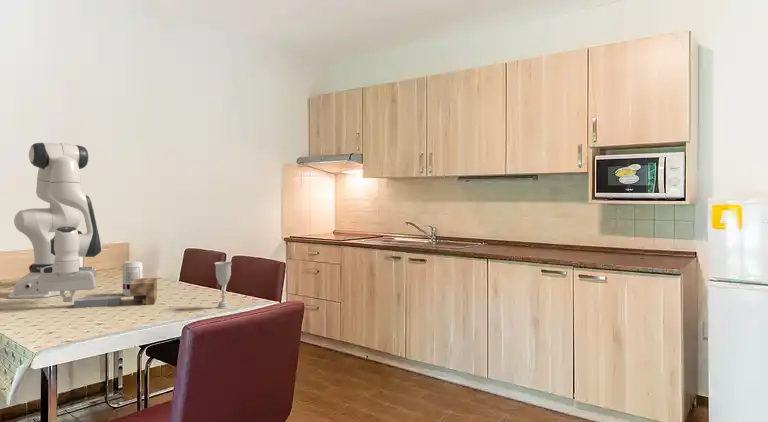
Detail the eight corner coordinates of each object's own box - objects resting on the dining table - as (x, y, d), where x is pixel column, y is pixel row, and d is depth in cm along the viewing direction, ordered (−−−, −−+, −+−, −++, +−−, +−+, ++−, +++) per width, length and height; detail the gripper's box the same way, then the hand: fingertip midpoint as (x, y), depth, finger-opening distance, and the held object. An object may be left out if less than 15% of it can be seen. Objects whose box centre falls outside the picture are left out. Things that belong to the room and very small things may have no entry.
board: (74, 308, 210) (74, 301, 210) (78, 305, 217) (78, 297, 217) (118, 305, 215) (118, 298, 215) (121, 302, 222) (121, 295, 222)
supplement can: (118, 295, 236) (118, 262, 236) (132, 292, 244) (132, 260, 243) (133, 297, 234) (133, 263, 233) (146, 293, 242) (146, 261, 241)
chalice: (211, 306, 214) (211, 262, 213) (227, 304, 218) (227, 261, 218) (219, 309, 208) (218, 264, 208) (235, 307, 213) (235, 263, 212)
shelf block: (130, 305, 215) (129, 283, 215) (134, 299, 228) (134, 278, 228) (154, 304, 218) (153, 282, 217) (157, 298, 231) (156, 277, 231)
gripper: (97, 265, 218) (98, 298, 219) (40, 267, 212) (41, 301, 212) (94, 267, 212) (95, 301, 213) (35, 269, 206) (36, 304, 206)
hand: (67, 301), depth 212 cm, fingers closed
